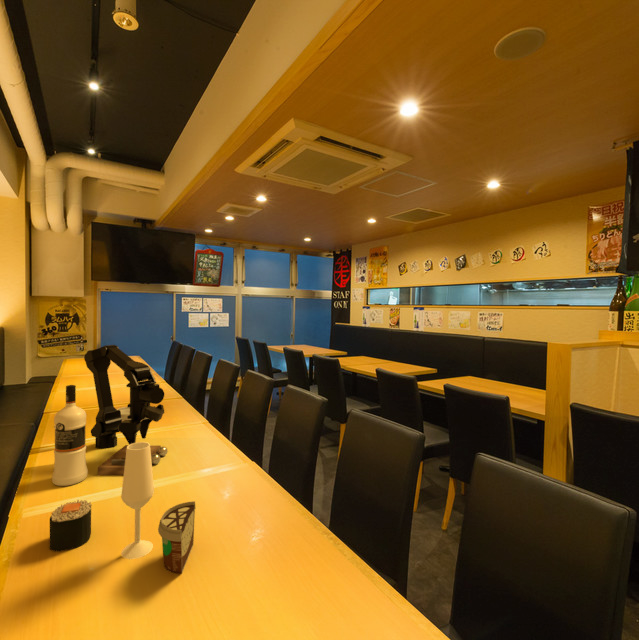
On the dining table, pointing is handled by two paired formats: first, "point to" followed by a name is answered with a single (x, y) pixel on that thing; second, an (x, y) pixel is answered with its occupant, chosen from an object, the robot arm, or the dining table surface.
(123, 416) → the ramekin
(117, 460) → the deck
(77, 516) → the sushi
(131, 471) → the champagne flute
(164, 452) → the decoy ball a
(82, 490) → the dining table surface
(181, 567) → the food container
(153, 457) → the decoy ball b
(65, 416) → the vodka
